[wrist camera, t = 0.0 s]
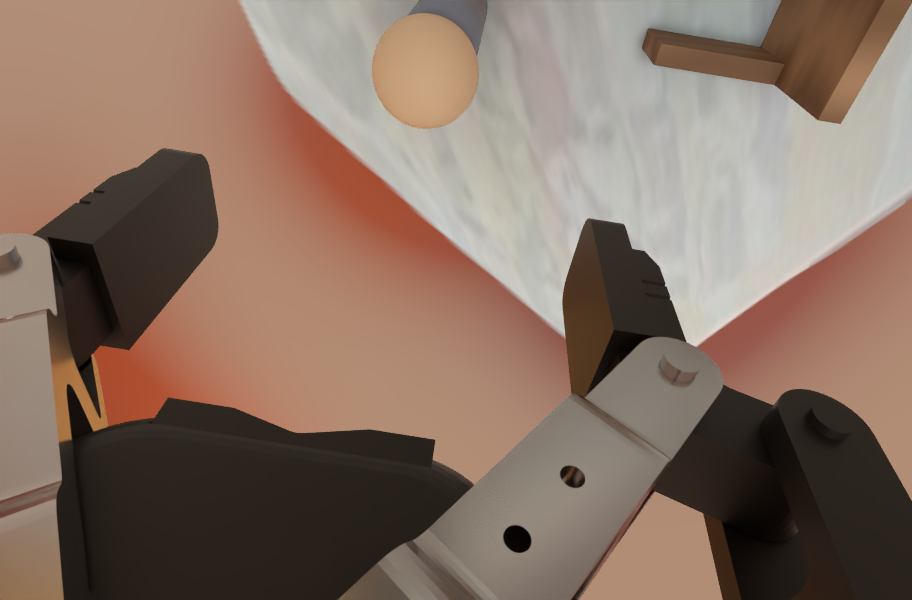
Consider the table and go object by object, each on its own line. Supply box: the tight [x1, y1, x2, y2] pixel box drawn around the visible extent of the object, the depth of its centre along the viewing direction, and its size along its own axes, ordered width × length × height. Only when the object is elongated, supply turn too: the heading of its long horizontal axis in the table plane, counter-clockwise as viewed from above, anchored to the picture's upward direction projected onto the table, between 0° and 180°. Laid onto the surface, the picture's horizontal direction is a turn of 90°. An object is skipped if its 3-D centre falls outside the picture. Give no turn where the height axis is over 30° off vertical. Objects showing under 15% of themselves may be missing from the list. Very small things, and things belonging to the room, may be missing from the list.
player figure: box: [372, 0, 487, 129], centre depth 28 cm, size 5×5×17 cm
